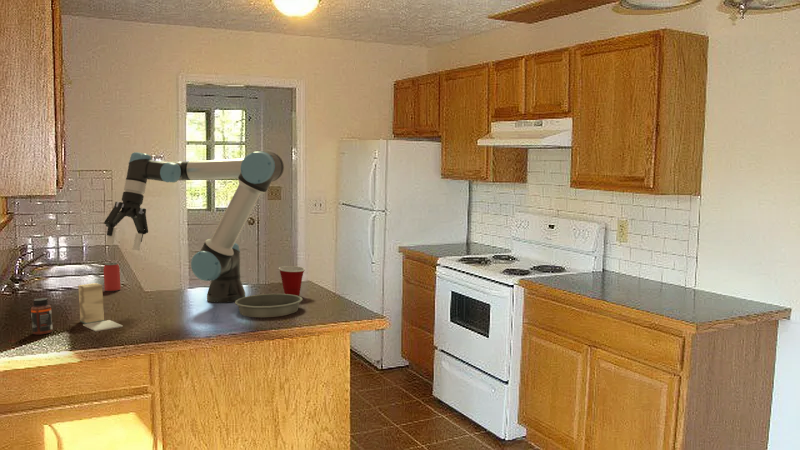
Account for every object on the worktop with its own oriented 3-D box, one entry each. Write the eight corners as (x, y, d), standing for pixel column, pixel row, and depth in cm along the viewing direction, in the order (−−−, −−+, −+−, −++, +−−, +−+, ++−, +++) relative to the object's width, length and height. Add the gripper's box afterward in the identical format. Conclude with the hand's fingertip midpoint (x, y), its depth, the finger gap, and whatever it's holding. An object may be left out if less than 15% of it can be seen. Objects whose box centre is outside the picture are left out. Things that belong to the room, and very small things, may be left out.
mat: (82, 325, 231) (82, 324, 231) (109, 321, 237) (109, 319, 237) (95, 331, 222) (95, 330, 222) (122, 326, 229) (122, 325, 229)
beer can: (101, 291, 295) (99, 264, 294) (112, 288, 301) (111, 262, 300) (112, 292, 292) (111, 264, 291) (124, 289, 299) (122, 262, 297)
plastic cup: (298, 299, 270) (297, 270, 269) (274, 298, 273) (273, 269, 272) (310, 294, 280) (309, 266, 279) (287, 293, 284) (286, 265, 282)
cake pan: (307, 315, 242) (307, 303, 241) (237, 321, 235) (236, 308, 235) (297, 302, 265) (297, 291, 265) (233, 307, 258) (233, 295, 258)
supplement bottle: (57, 331, 224) (55, 297, 222) (42, 335, 218) (40, 301, 217) (43, 330, 225) (41, 296, 224) (28, 334, 220) (25, 300, 219)
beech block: (80, 321, 237) (78, 285, 236) (98, 318, 241) (95, 283, 240) (86, 324, 233) (84, 287, 232) (104, 321, 237) (102, 285, 236)
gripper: (149, 198, 270) (138, 251, 268) (101, 184, 247) (89, 241, 245) (163, 200, 267) (153, 252, 265) (116, 186, 245) (105, 243, 242)
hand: (122, 247), depth 255 cm, fingers open, 13 cm apart
